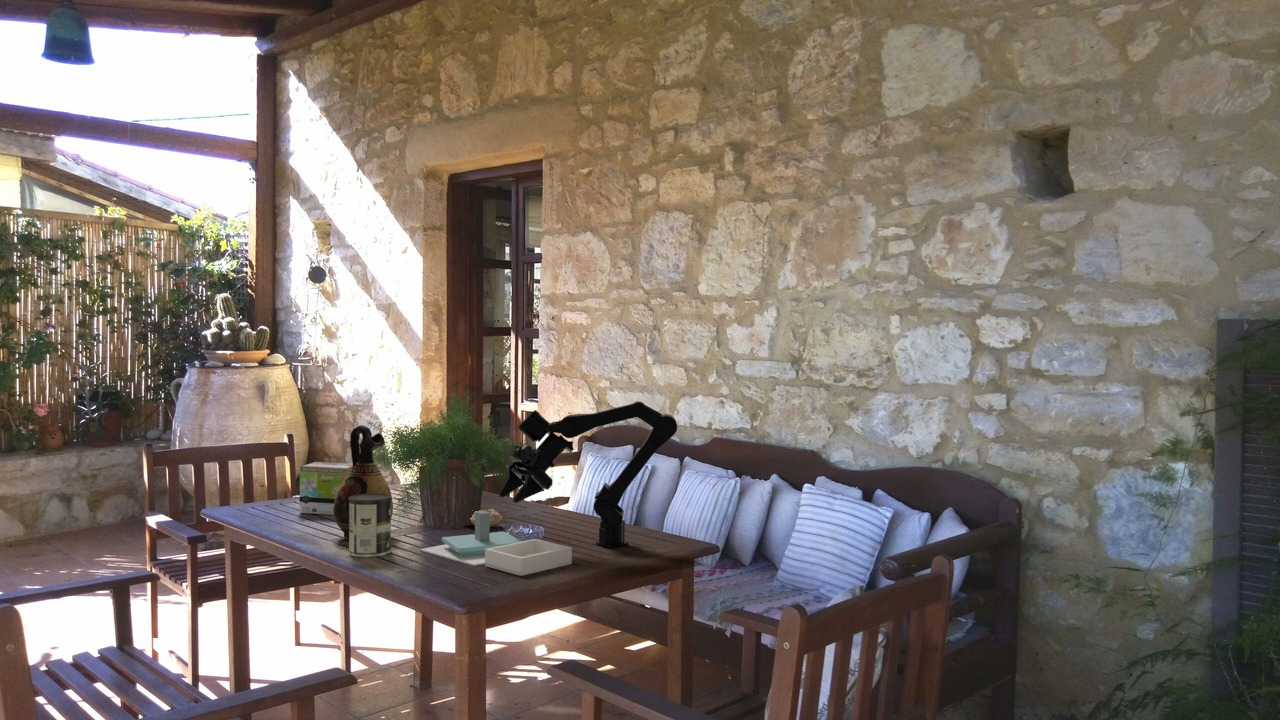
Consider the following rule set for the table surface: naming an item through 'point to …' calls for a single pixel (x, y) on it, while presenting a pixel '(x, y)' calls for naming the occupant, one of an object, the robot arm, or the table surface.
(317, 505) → the tea box
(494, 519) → the pottery oil lamp
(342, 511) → the ceramic jug
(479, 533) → the teal lid
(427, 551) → the grey mat
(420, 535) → the table surface
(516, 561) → the parts tub
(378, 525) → the coffee can
